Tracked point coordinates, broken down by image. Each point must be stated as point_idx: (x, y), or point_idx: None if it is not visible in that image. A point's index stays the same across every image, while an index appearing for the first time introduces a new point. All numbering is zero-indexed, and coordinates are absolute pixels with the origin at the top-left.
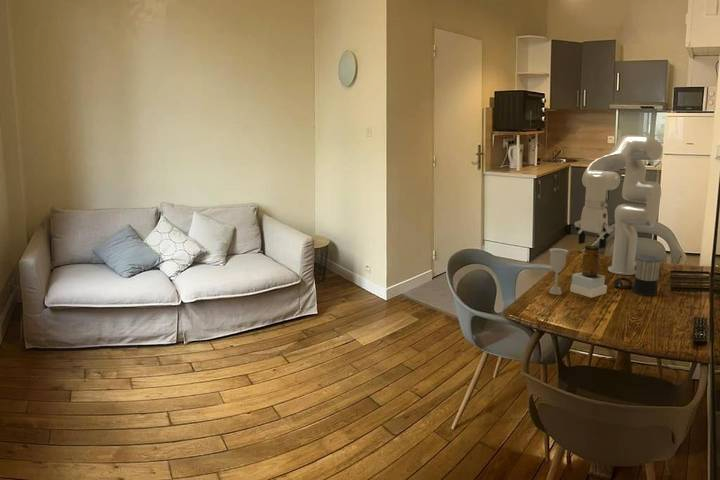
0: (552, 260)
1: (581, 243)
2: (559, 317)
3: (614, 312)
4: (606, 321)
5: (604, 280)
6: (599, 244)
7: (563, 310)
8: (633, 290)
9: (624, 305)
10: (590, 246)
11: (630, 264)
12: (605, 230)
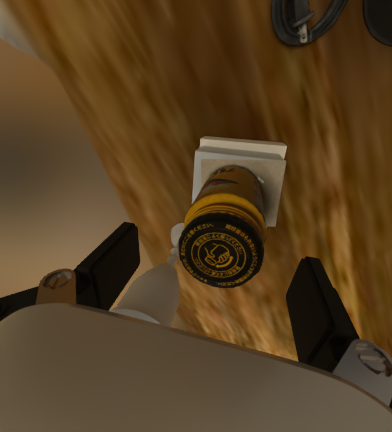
0: (149, 317)
1: (137, 248)
2: (270, 341)
3: (357, 273)
4: (355, 323)
5: (281, 158)
6: (292, 321)
7: (258, 313)
8: (370, 26)
9: (370, 211)
10: (200, 245)
11: None
12: (369, 410)
